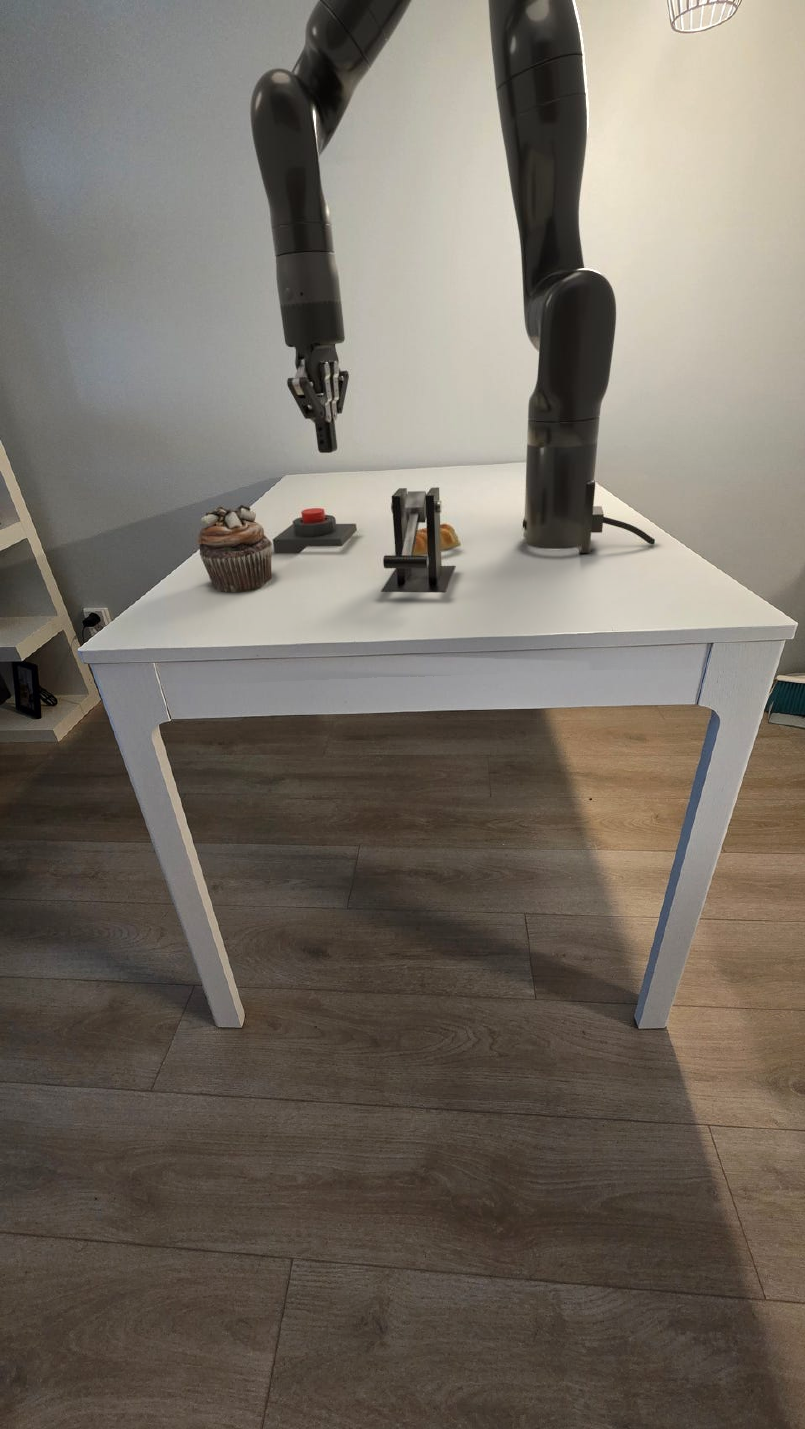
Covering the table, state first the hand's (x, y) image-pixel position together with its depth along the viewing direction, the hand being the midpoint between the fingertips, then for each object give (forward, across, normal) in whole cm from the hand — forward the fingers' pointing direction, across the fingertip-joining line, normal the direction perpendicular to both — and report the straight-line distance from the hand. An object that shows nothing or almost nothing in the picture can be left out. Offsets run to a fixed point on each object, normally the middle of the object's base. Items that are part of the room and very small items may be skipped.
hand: (328, 451), depth 87 cm
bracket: (+15, -9, -16) cm, 24 cm away
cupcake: (+15, -12, +9) cm, 21 cm away
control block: (+15, +6, +7) cm, 18 cm away
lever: (+8, -12, -16) cm, 22 cm away
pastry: (+15, +5, -12) cm, 20 cm away
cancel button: (+11, +6, +7) cm, 15 cm away
